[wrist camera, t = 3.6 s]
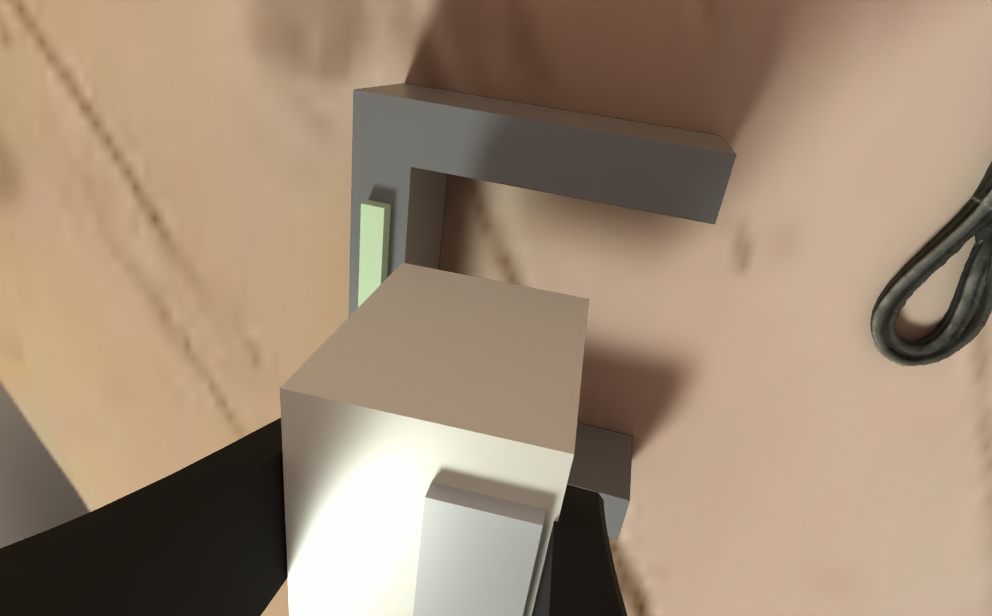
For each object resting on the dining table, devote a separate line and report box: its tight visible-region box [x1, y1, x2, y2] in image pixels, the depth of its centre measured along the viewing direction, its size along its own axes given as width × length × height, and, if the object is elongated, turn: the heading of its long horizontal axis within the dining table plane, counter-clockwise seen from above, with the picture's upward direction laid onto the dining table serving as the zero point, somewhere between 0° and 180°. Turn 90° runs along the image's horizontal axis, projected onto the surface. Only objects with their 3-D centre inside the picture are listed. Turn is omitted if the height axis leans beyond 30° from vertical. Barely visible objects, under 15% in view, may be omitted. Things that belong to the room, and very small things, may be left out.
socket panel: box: [349, 83, 736, 540], centre depth 18 cm, size 8×20×3 cm, turn 172°
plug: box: [280, 263, 589, 616], centre depth 11 cm, size 4×5×5 cm
